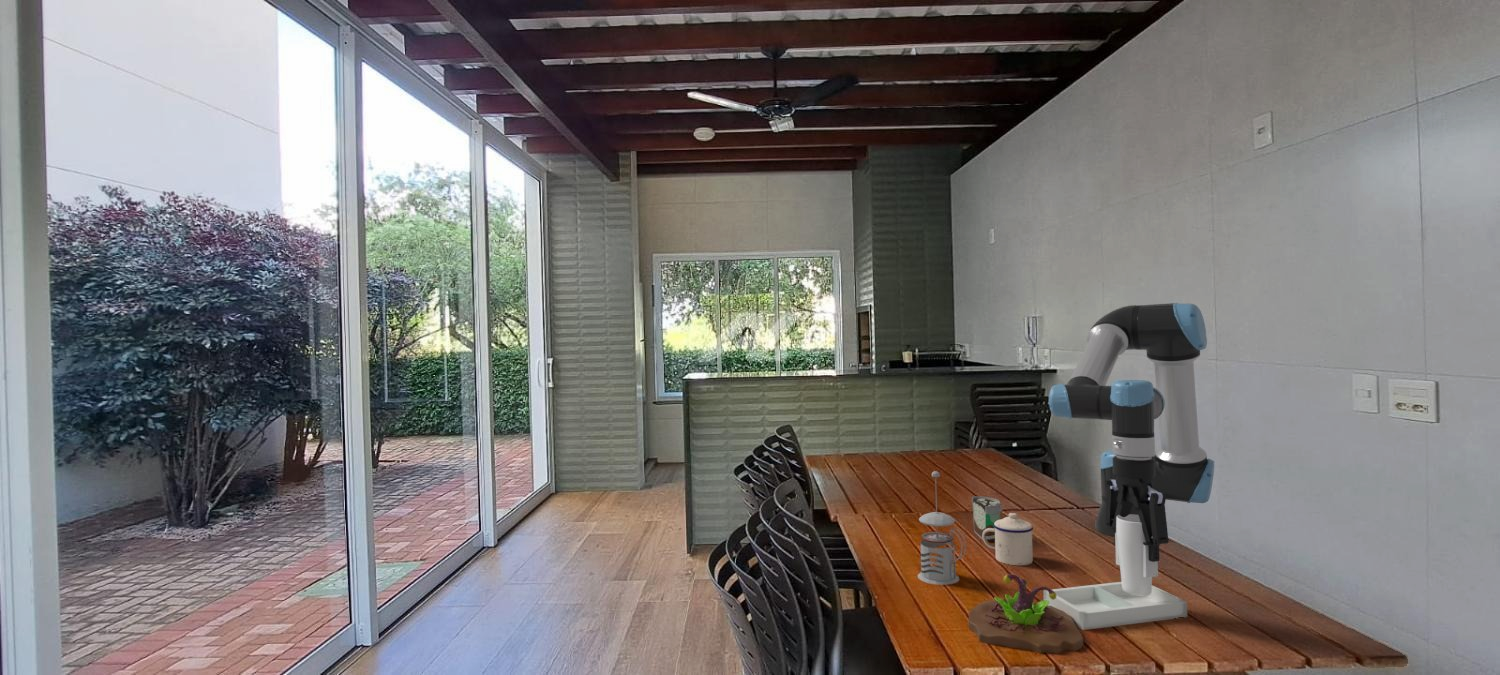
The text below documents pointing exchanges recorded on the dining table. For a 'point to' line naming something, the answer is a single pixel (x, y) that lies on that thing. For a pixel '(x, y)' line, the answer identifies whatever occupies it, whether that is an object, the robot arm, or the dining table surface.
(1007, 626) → the plant
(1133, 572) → the drinking glass
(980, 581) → the dining table surface
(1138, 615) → the divided tray
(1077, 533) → the dining table surface
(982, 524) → the food container
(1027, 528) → the teacup with lid
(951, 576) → the french press
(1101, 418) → the robot arm
